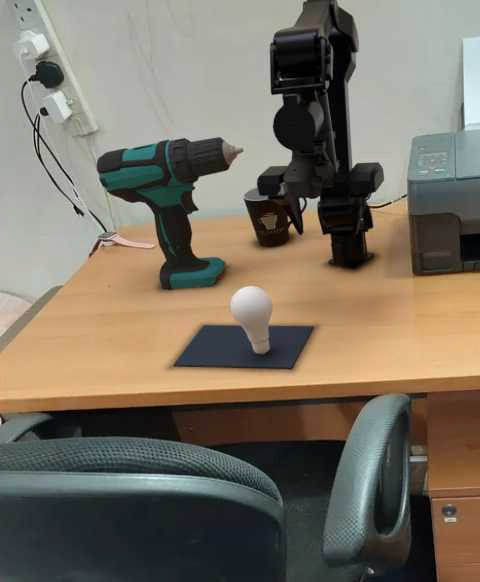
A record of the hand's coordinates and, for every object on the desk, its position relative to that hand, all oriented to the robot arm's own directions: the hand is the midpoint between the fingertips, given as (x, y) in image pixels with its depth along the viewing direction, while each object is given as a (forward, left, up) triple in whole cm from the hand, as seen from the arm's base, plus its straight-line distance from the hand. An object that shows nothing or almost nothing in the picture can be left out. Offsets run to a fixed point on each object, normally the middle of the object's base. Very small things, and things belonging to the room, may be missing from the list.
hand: (328, 234), depth 105 cm
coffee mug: (-16, -28, -12) cm, 34 cm away
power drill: (+3, -31, -12) cm, 33 cm away
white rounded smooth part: (+19, 0, -12) cm, 22 cm away
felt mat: (+18, -5, -12) cm, 22 cm away
